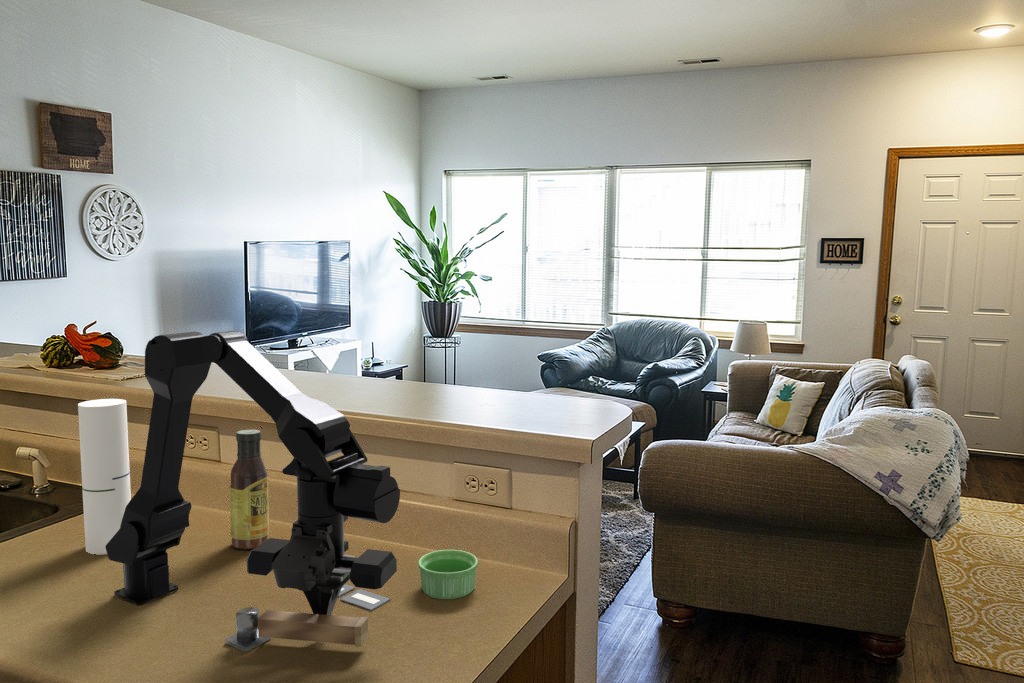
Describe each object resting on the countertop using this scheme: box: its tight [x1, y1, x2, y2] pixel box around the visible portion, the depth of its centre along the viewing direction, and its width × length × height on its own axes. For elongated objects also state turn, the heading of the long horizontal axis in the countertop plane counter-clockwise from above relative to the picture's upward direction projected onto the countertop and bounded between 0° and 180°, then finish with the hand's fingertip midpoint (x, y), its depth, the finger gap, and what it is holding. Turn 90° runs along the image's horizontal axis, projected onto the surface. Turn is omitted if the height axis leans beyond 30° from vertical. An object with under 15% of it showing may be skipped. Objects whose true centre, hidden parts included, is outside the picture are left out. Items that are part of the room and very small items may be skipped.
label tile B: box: [340, 588, 391, 612], centre depth 109 cm, size 6×4×1 cm, turn 58°
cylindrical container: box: [77, 398, 132, 556], centre depth 127 cm, size 7×7×25 cm
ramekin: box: [417, 549, 479, 600], centre depth 114 cm, size 9×9×4 cm
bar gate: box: [258, 609, 369, 648], centre depth 96 cm, size 14×3×3 cm, turn 82°
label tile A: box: [338, 583, 356, 598], centre depth 113 cm, size 6×4×1 cm, turn 58°
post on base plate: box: [224, 606, 272, 653], centre depth 97 cm, size 4×4×4 cm
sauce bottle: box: [229, 429, 270, 550], centre depth 129 cm, size 7×6×20 cm
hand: (323, 624), depth 98 cm, fingers closed
